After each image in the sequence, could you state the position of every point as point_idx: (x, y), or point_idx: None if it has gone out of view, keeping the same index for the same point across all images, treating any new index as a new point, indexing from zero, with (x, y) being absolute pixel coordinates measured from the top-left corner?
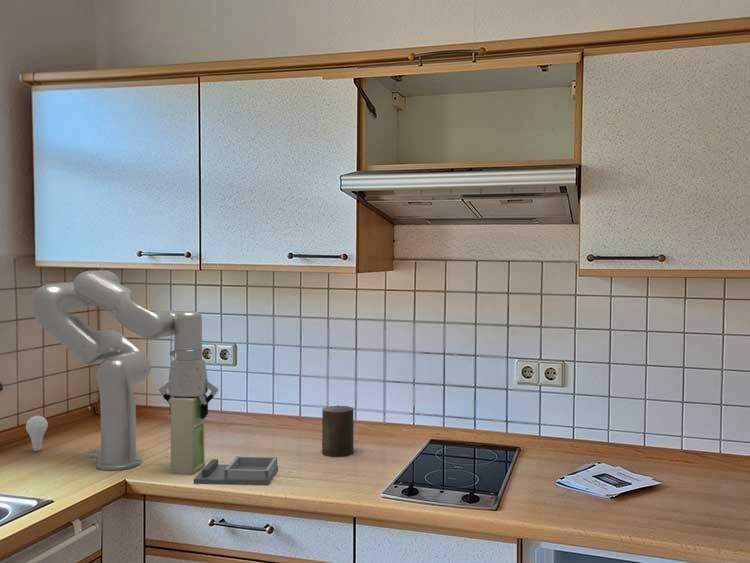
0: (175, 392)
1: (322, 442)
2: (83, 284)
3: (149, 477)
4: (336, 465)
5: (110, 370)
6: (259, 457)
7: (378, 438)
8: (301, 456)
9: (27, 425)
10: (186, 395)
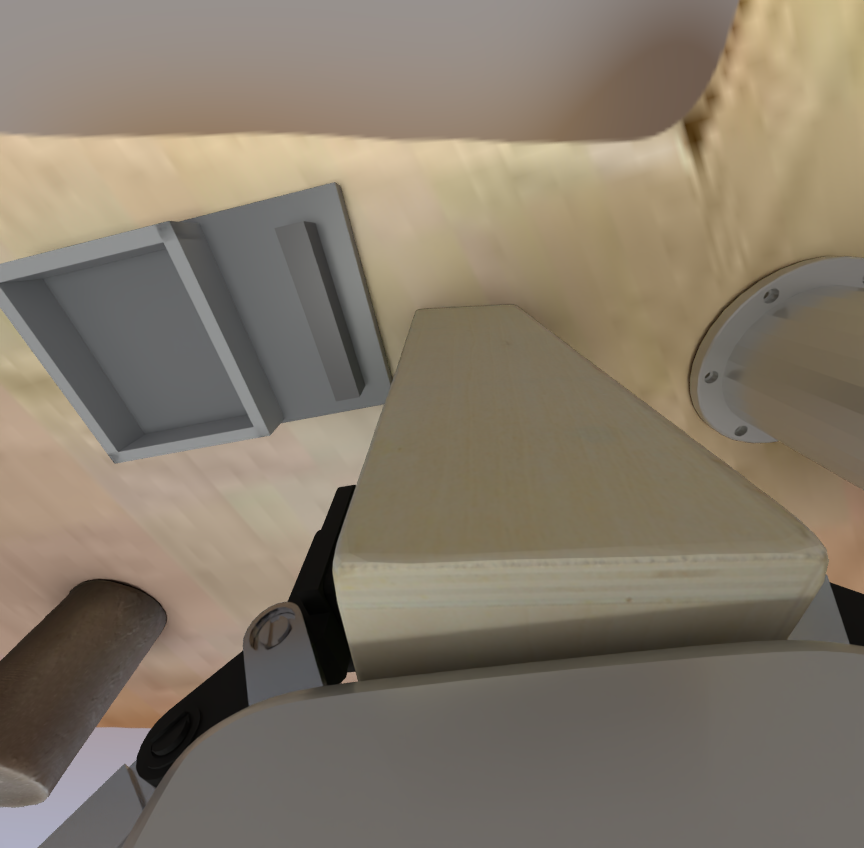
0: (855, 754)
1: (125, 627)
2: None
3: (586, 219)
4: (24, 518)
5: None
6: (173, 443)
7: (120, 704)
8: (188, 566)
9: None
10: (506, 689)
